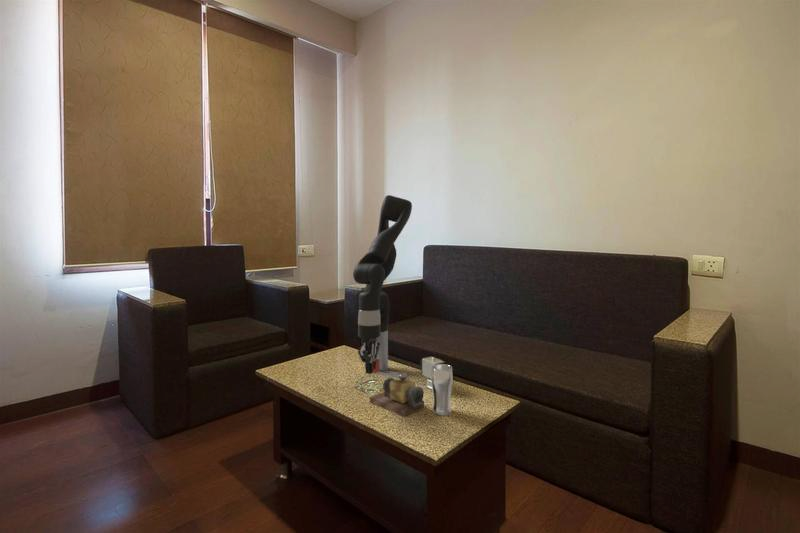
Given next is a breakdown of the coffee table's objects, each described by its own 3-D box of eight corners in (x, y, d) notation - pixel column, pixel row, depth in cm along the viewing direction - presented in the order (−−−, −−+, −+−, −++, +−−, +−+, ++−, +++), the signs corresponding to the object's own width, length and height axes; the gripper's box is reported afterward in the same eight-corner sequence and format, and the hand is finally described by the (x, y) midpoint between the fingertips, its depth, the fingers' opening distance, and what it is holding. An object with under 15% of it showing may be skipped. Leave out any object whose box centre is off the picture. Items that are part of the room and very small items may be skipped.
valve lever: (408, 376, 145) (408, 363, 145) (405, 379, 142) (405, 365, 142) (370, 371, 151) (370, 358, 150) (366, 373, 148) (366, 360, 148)
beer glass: (434, 405, 145) (434, 362, 144) (454, 408, 142) (455, 365, 141) (428, 414, 138) (428, 369, 137) (449, 417, 136) (449, 371, 135)
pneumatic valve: (438, 394, 154) (438, 362, 153) (419, 385, 164) (419, 354, 163) (450, 391, 158) (450, 359, 156) (430, 382, 167) (430, 352, 166)
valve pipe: (370, 402, 148) (369, 376, 147) (390, 394, 155) (390, 368, 154) (406, 417, 136) (406, 388, 135) (426, 407, 143) (426, 380, 143)
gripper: (371, 327, 136) (371, 380, 137) (387, 319, 148) (387, 368, 150) (350, 325, 139) (350, 377, 140) (367, 318, 151) (367, 366, 152)
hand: (369, 373), depth 145 cm, fingers closed
